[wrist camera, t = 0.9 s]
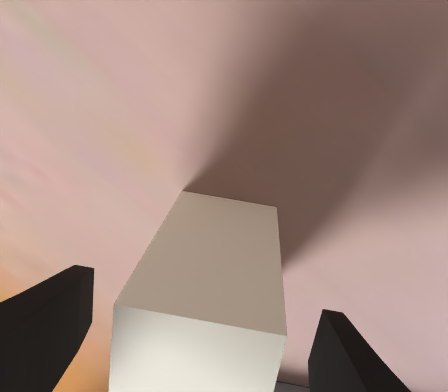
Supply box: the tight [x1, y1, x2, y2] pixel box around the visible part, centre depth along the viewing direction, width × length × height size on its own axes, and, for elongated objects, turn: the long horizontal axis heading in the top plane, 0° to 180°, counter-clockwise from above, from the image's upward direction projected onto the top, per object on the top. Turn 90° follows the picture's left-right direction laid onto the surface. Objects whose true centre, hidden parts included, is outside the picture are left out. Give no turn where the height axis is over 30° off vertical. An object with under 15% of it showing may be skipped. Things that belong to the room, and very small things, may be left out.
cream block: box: [109, 191, 287, 392], centre depth 13 cm, size 4×4×8 cm
